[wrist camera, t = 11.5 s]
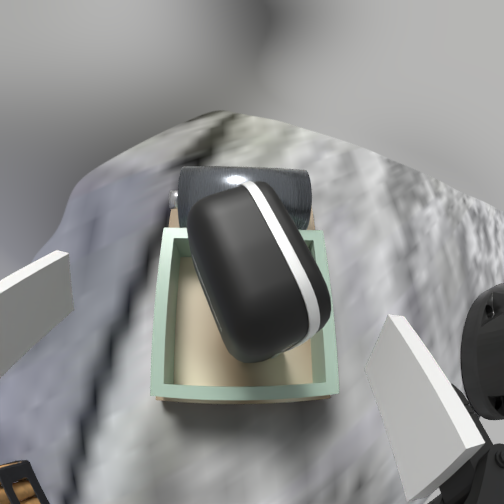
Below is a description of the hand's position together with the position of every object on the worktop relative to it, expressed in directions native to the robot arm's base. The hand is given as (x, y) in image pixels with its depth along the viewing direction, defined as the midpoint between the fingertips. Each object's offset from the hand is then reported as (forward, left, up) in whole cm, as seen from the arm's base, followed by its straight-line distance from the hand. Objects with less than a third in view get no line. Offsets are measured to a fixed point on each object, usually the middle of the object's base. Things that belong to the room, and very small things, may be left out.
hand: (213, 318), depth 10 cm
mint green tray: (-1, -5, -11) cm, 12 cm away
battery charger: (-1, -2, -10) cm, 10 cm away
